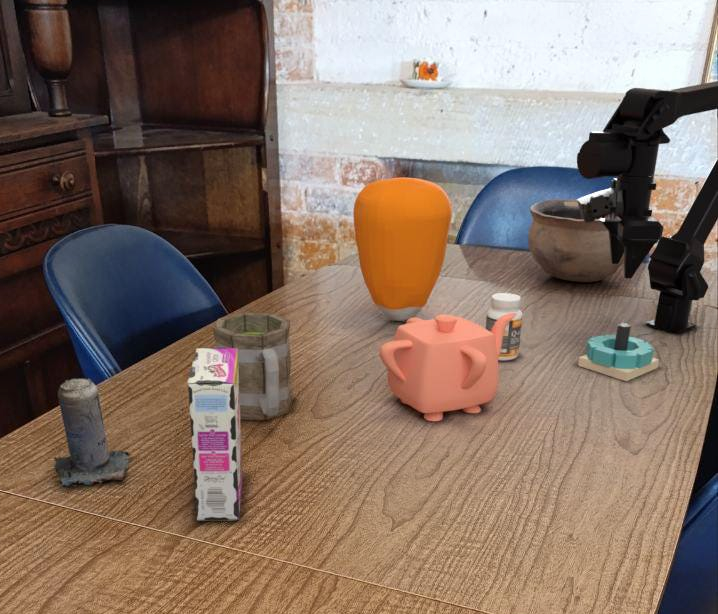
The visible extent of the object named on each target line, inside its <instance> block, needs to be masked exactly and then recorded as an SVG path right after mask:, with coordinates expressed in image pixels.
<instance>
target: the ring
mask: <svg viewBox="0 0 718 614" xmlns="http://www.w3.org/2000/svg"><path fill="white" fill-rule="evenodd" d="M615 339H616V334H604V335H601V334H599V335H596V336H594V337H591V338H588V340H587V341H586V342H587V343H586V348H585V349H586V350H585V355H587V357H588V359H589V360H592V362H594V363H597V364H600V365H604V366H607V367H611V366H614V368H622V369H635V367H637V368H642V367H644V366H646V365H649V364H651V362H652V358H654V350H655V349H654V347H653V346H652V344H651V343H650V342H647V340H644V339H642V338H638V337H634V336H631V335H629V341H628V347H627V351H621V350H614V346H615Z"/></svg>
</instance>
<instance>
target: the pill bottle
mask: <svg viewBox="0 0 718 614" xmlns="http://www.w3.org/2000/svg"><path fill="white" fill-rule="evenodd" d="M521 301H522V298H521V296H520V295H518V294H515V293H509V292H499V293H494V294H492V295H491V298H490V304H491V307H490V308H489V310H488V311H487V313H486V318H485V329H486V330H488V331H490V332H491V330H492V328H493V326H494V324H495V322H496V321H497V320H498V319H499V318H500V317H501V316H503V315H506V314H510V313H517V315H516V316H515V317H514V318H513V319H512V320H511V321H510V322H509V323H508V325H507V326H506V328H505V331H504V335H503V340H502V346H501V352H500V355H499V358H498V361H503V362H504V361H505V362H506V361H511V360H515V359H516V358H518V356H519V352H520V343H521V334H522V324H523V318H524V317H523V312H522V311H521V310H520V309H519V308H520V306H521Z"/></svg>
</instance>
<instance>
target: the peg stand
mask: <svg viewBox="0 0 718 614" xmlns="http://www.w3.org/2000/svg"><path fill="white" fill-rule="evenodd" d="M631 328H632V325H631V324H629V323H625V322H621V323H617V326H616V334H615V335H616V339H615V346H614V350H621V351H627V347H628V341H629V336H631V330H632V329H631ZM577 362H578V363H577V367H581V368H583V369H587V370H590V371H592V372H596V373H599V374H602V375H605V376H608V377H612V378H614V379H618V380H620V381H624V382H629V381H630V380H633V379H635V378H637V377H640V376H642V375H645V374H647V373H649V372H651V371H655V370H657V369H658V368H659V367H658V366H659V362H660V359H659V358H655V357H652V362H651V364H649V365H646V366H644V367H642V368H637V367H635V369H622V368H614V366H611V367H607V366H604V365H600V364H597V363H594V362H592V360H589V359H588V357H587V355H586V354H583V355H581V356H579V357H578V361H577Z"/></svg>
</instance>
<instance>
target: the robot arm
mask: <svg viewBox="0 0 718 614" xmlns="http://www.w3.org/2000/svg"><path fill="white" fill-rule="evenodd" d="M715 110H717V111H716V116H717V117H716V118H717V119H718V80H716V81H710V82H706V83H705V82H704V83H700V84H695V85H690V86H684V87H679V88H674V89H660V88H657V89H656V88H646V87H645V88H644V87H633V88H630V89H628V90H627V91H626V92H625V94H624V96H623V98H622V100H621V102H620V103H619V105H618V106H617V108H616V110H615V111H614V113H613V114H612V116H611V117H610V118H609V120H608V122H607V123H606V125H605V127H604V128H603V130H602V131H595V130H594V131H590V132H589V134H588V140H586V141H585V142H583V144H582V145H581V146H580V148H579V151H578V153H577V155H576V166H577V170H578V173H579V174H580V175H581V176H582V177H583V178H584V179H585V180H591V179H593V180H594V179H601V178H612V177H613V179H612V180H611V181H610V187H609V188H605V189H603V190H599V191H595V192H593V193H590V194H587V195H585V196H581V197H579V198H577V199H578V200H577V202H578V206H579V210H580V214H581V218H582V219H583V220H584V222H592V221H595V219H597V218H605V219H600V221H601V222H602V224H603V225H604V226H605V227H606V228H607V229H608V233H609V241H610V250H611V260H612V263H613V264H618V263H619V262H620V260H621V258H622V256H623V254H624V263H623V266H624V267H623V270H624V272H623V273H624V278H625V279H632V278H633V277H634V275H635V274H636V273H637V271H638V269H640V268H639V267H640V266H641V265H642V263H643V262H644V260H645V258H647V256H648V254H649V253H650V251H651V250H652V249H653V248H654V246H655V245H656V244H657V245H656V246H655V248H654V250H653V251H652V253H651V254H650V255H649V256H648V257H649V259H650V260H649V262H648V265H647V271H648V278H649V279H648V280H649V286H650V287H649V288H650V289H651V290H655V291H658V292H659V295H658V300H657V306H656V312H655V316H654V319H652V320H650V321H647V322H646V323H645V324H646V326H647V327H652V328H655V329H658V330H662V331H666V332H670V333H673V334H680V333H683V332H686V331H689V330H691V329H694V328H695V327H696V323H693V322H689V320H690V315H691V311H692V305H693V301H699V300H700V299H703V298H705V295H706V293H707V292H708V289H709V284H708V282H707V280H706V279H705V278H704V276H703V274H702V272H701V271H702V269H703V266H704V264H705V244H706V241H707V239H708V238H709V236H710V234H711V232H712V230H713V229H714V227H715V225H716V223H717V221H718V157H717V158H716V160H715V162H714V163H713V166H712V168H711V169H710V171H709V173H708V175H707V177H706V179H705V180H704V182H703V184H702V186H701V188H700V190H699V192H698V193H697V196H696V197H695V198H694V200H693V202H692V204H691V206H690V208H689V210H688V212H687V214H686V216H685V218H684V219H683V221H682V222H681V225H680V226H679V229H678V230H677V231H676V233H674V234H673V235H671V236H670V237H667V236H663V233H664V226H663V224H662V223H661V222H660V221H659V220H658V219H656V217H654V216H652V215H653V209H652V208H650V204H651V199H652V193H653V191H656V189H657V184H658V183H656V181H654V180H655V172H656V168H657V167H656V166H657V160H658V154H659V147H660V145H662V144H663V145H664V144H666V145H667V144H670V142H671V139H670V138H669V136H668V135H667V134H666V132H664V129H665V128H667V127H670V126H672V125H673V124H675V123H676V122H677V120H678V119H681V118H682V117H685V116H686V117H687V116H690V115H695V114H700V113H705V112H710V111H715Z"/></svg>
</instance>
